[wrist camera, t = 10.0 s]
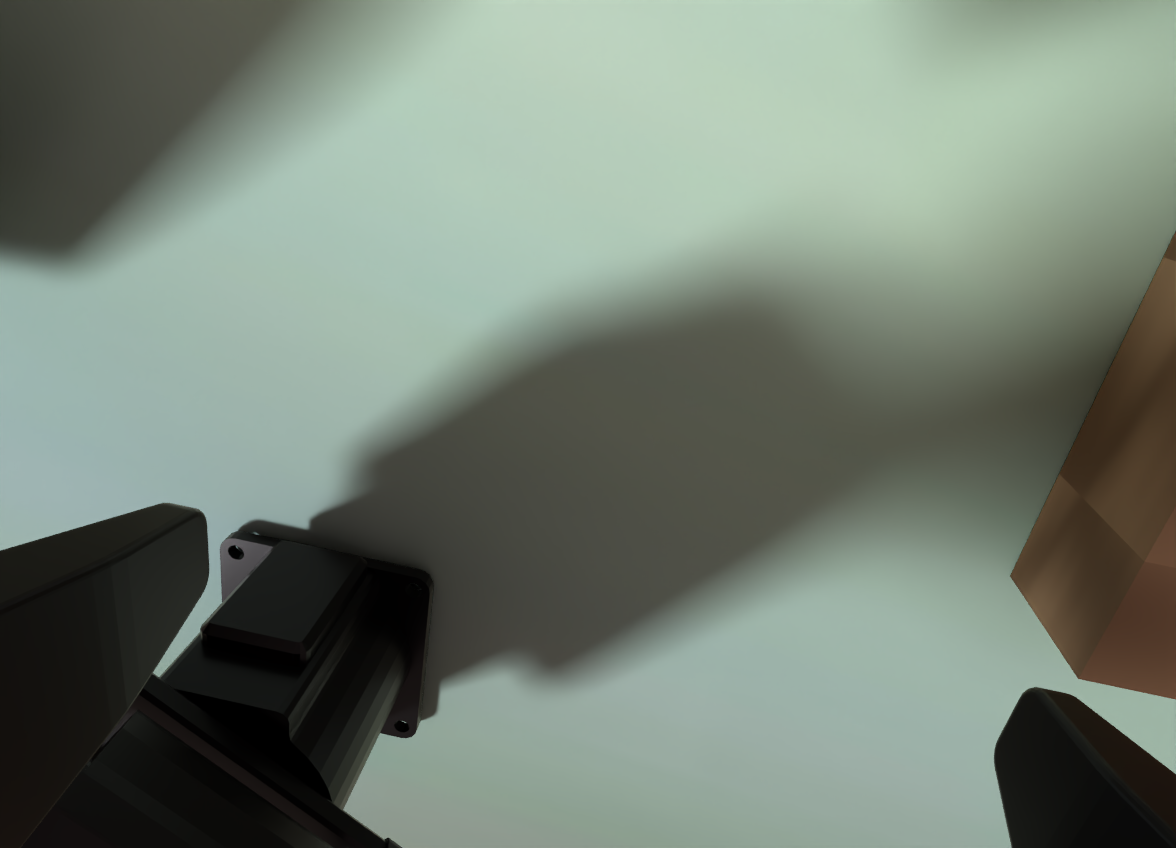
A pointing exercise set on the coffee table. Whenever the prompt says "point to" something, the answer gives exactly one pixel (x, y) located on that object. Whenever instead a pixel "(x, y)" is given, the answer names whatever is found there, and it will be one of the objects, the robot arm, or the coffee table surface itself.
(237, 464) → the coffee table surface
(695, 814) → the coffee table surface
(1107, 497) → the hole block
